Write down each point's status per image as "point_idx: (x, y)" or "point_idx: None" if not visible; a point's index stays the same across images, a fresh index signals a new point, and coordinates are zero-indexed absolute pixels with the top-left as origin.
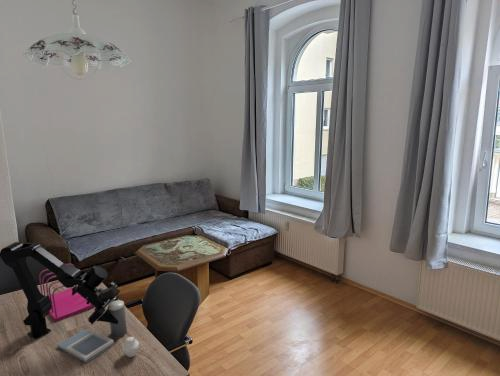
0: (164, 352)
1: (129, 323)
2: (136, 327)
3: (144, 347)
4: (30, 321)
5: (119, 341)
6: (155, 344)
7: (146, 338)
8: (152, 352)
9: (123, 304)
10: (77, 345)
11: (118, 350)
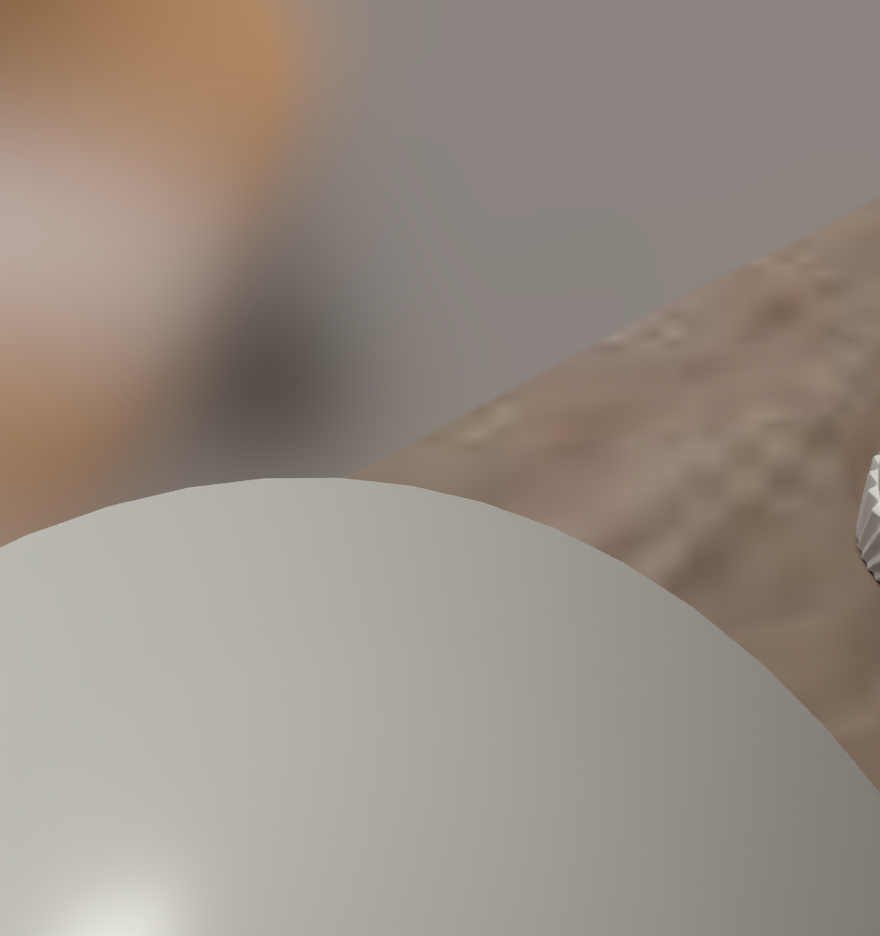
0: (823, 236)
1: None
2: None
3: (759, 418)
4: None
5: None
6: (698, 315)
7: (577, 415)
8: (839, 333)
9: (412, 494)
10: None
11: (860, 763)
